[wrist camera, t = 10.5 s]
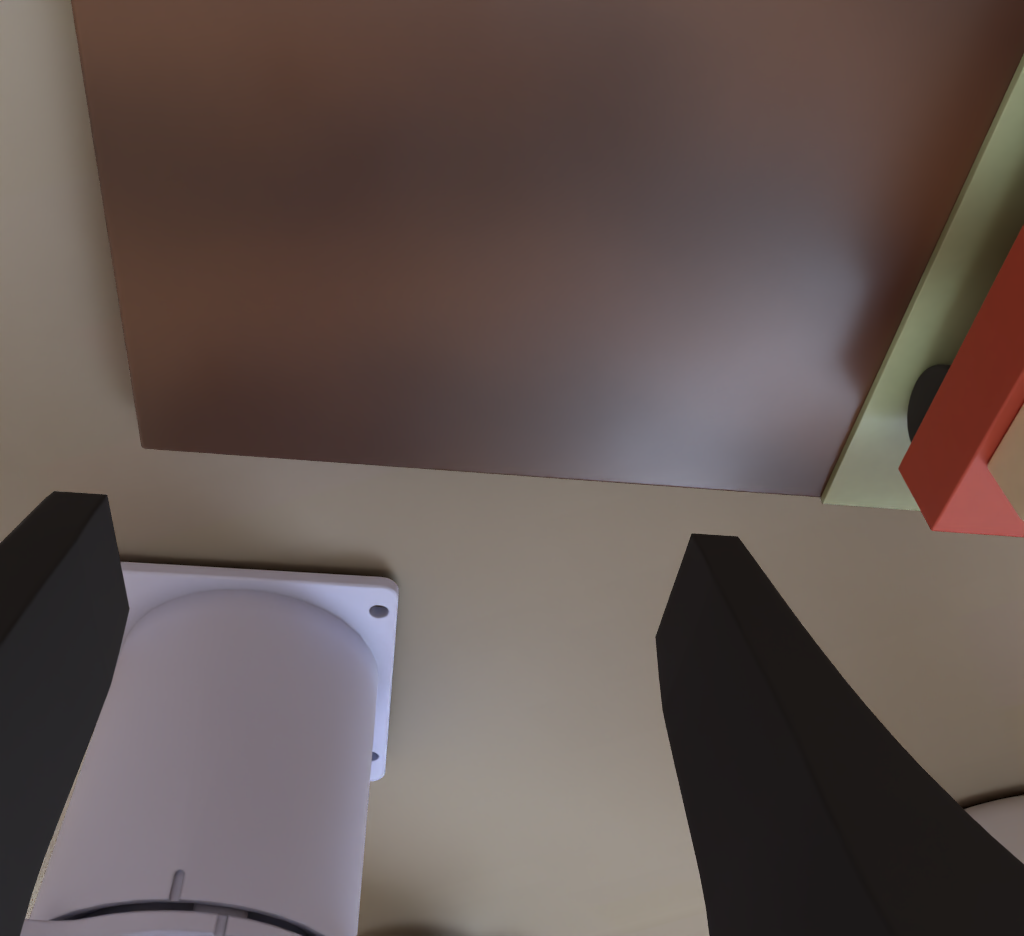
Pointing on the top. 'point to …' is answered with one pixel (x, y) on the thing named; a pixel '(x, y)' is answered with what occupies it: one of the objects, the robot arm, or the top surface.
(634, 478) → the board
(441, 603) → the top surface
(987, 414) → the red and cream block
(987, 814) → the cylinder vase
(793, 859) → the robot arm
